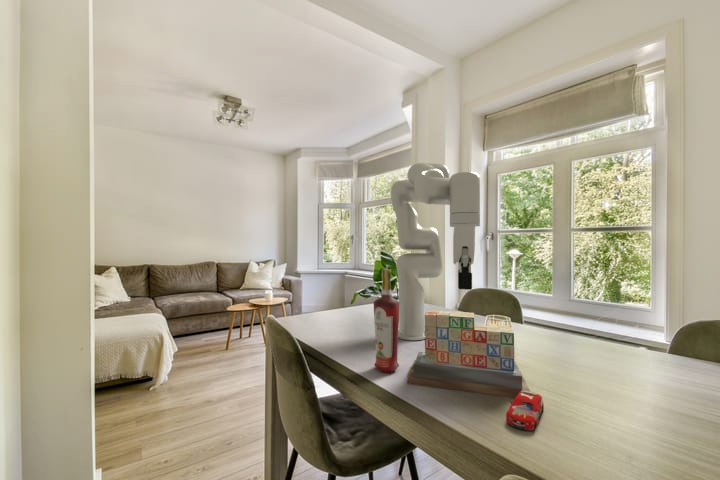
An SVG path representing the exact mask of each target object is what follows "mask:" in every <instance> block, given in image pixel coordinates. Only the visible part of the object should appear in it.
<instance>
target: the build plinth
mask: <svg viewBox="0 0 720 480" xmlns="http://www.w3.org/2000/svg"><path fill="white" fill-rule="evenodd" d="M406 378H407V382H406V383H407V385H414V386H415V385H416V386H420V387H430V388H437V389H444V390H453V391H460V392H470V393H475V394H485V395H492V396H500V397H508V398H514V399H515V398H516V396H517V395H518V394H519V392H521V391H529V392H531V390H530V388H529V386H528V384H527V382H526V380H525V378H524V376H523V374H522V372H521V370H520V368H519V367H518V365H517V362H516V361H515V360H514V371H507V370H500V369H491V368H483V367H475V366H467V365H456V364H449V363H440V362H433V361H425V351H422V352H421V351H418V353H417V357H416V358H415V359H414V360H413V362H412V364H411V367H410V370H409V373H408V376H407V377H406Z"/></svg>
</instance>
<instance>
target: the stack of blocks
mask: <svg viewBox="0 0 720 480" xmlns="http://www.w3.org/2000/svg"><path fill="white" fill-rule="evenodd" d="M424 331H425V339H424V352H425V361H433V362H440V363H449V364H456V365H467V366H475V367H483V368H491V369H500V370H507V371H514V361H515V333H514V330H513V328H512V326H501V325H490V324H480V323H479V324H475V312H466V311H450V310H448V311H447V310H434V309H433V310H432V309H428V310H427V311H426V313H424Z"/></svg>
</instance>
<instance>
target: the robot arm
mask: <svg viewBox="0 0 720 480" xmlns="http://www.w3.org/2000/svg"><path fill="white" fill-rule="evenodd" d="M480 179H481V178H480V175H479V174H478V173H477V172H473V171H462V172H461V171H459V172H456V173H454V174H452V175H451V176H450V171H449V169H448V167H447V166H446V165H445V164H443V163H431V162H429V163H427V162H419V163H414V164H413V165H411V166H410V168H409V169H408V170H407V179H401V180H397V181H395V182H394V183H392V185H391V188H390V201H391V204H392V208H393V211H394V214H395V217H396V226H397V239H398V245H399V248H400V249H401V250H403V251H425V252H421V253H420V252H415V253H414V252H411V253H410V252H409V253H403V254H401V255H399V256H398V257H397V259H396V265H395V266H396V273H397V278H398V280H397V281H398V301H399V302H400V305H399V327H398V339H400V340H405V341H422V340H425V289H424V287H423V285H422V284H421V282H420V281H419V279H429V278H430V279H431V278H435V279H436V278H438V277H439V276H441V274H442V272H443V256H442V249H441V248H442V247H441V239H440V235H439V232H438V230H437V229H436V228H435V227H433V226H430V225H428V226H425V225H420V223H419V214H418V212H417V211H416V209H415V208H414V206H412V205H411V204H410V203H423V204H427V205H443V206H449V227H450V228H453V235H452V237H453V238H452V239H453V240H452V242H453V243H452V244H453V247H452V255H453V256H452V258H453V259H452V260H453V265H457V263H458V271H457V273H458V275H457V278H458V279H457V282H458V284H457V287H458V289H459V290H469V291H470V290H473V272H472V265H474V262H475V261H474V260H475V251H476V249H475V248H476V227H481V195H480V194H481V180H480Z"/></svg>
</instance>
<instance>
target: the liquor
mask: <svg viewBox="0 0 720 480" xmlns="http://www.w3.org/2000/svg"><path fill="white" fill-rule="evenodd" d="M391 278H392V269H385V268H383V269H381V280H382V283H381V284H382V285H381V296H380V297H378V298H377V299H375V300H374V301H373V320H374V337H375V339H374V341H375V342H374V343H375V363H374V364H373V365H374V367H375V368H376V369H377V370H378V371H379V372H381V373H384V374H385V373H387V374H389V373H390V374H391V373H394V372H395V371H396V370H397V369H398V368H399V366H400V364H399V362H398V352H399V351H398V345H399V338H398V330H399V305H400V302H399V299H397V298H395V297H393V296H392V295H393V294H392V286H391V283H392V282H391V280H392V279H391Z"/></svg>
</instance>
